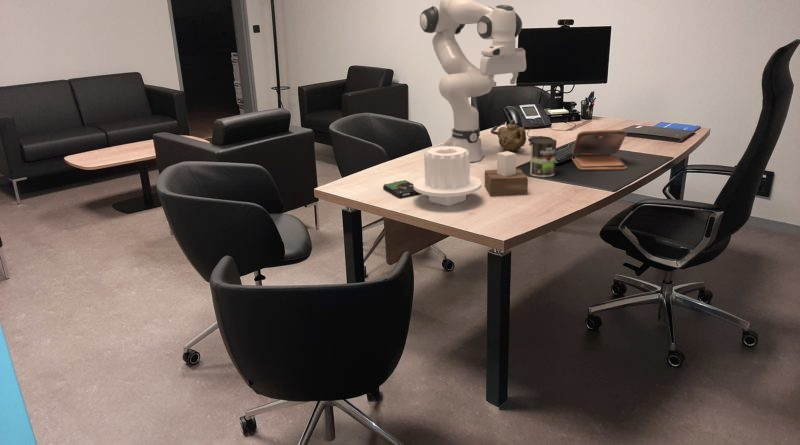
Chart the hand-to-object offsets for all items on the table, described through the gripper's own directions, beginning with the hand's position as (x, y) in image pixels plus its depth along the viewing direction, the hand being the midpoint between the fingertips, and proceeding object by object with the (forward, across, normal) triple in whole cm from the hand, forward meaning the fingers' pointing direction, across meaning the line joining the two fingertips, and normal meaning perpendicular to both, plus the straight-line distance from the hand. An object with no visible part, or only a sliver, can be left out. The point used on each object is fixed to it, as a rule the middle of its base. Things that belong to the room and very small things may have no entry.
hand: (503, 85), depth 250 cm
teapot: (+37, -27, -29) cm, 54 cm away
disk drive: (+38, +45, -3) cm, 59 cm away
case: (+37, -43, +11) cm, 58 cm away
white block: (+30, +12, +19) cm, 38 cm away
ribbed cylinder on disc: (+37, +37, +17) cm, 55 cm away
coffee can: (+37, -14, +9) cm, 41 cm away
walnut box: (+37, +12, +19) cm, 43 cm away
